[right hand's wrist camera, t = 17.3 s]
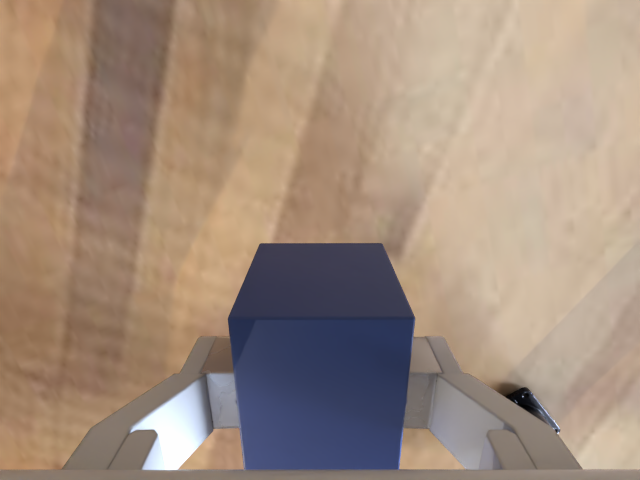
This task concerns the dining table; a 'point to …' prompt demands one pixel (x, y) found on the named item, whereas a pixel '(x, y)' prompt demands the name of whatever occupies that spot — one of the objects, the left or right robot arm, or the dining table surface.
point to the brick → (321, 358)
